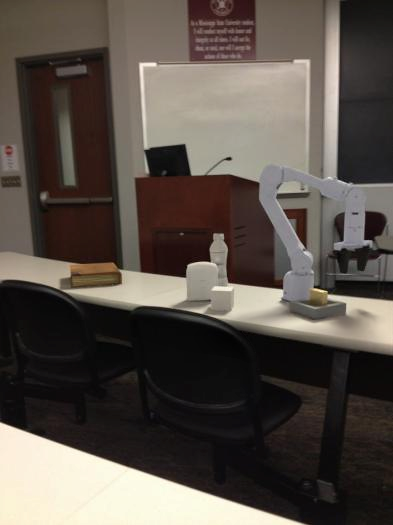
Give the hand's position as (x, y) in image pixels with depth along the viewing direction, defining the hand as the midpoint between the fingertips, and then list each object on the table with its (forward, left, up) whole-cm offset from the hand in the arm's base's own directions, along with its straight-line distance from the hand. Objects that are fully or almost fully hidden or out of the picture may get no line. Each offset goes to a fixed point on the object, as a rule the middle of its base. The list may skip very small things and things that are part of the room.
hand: (352, 272), depth 134 cm
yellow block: (+2, -16, -9) cm, 19 cm away
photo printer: (-29, -36, -10) cm, 47 cm away
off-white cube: (-17, -36, -10) cm, 41 cm away
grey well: (+2, -16, -10) cm, 19 cm away
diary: (-80, -56, -11) cm, 98 cm away
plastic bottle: (-38, -24, -10) cm, 46 cm away
